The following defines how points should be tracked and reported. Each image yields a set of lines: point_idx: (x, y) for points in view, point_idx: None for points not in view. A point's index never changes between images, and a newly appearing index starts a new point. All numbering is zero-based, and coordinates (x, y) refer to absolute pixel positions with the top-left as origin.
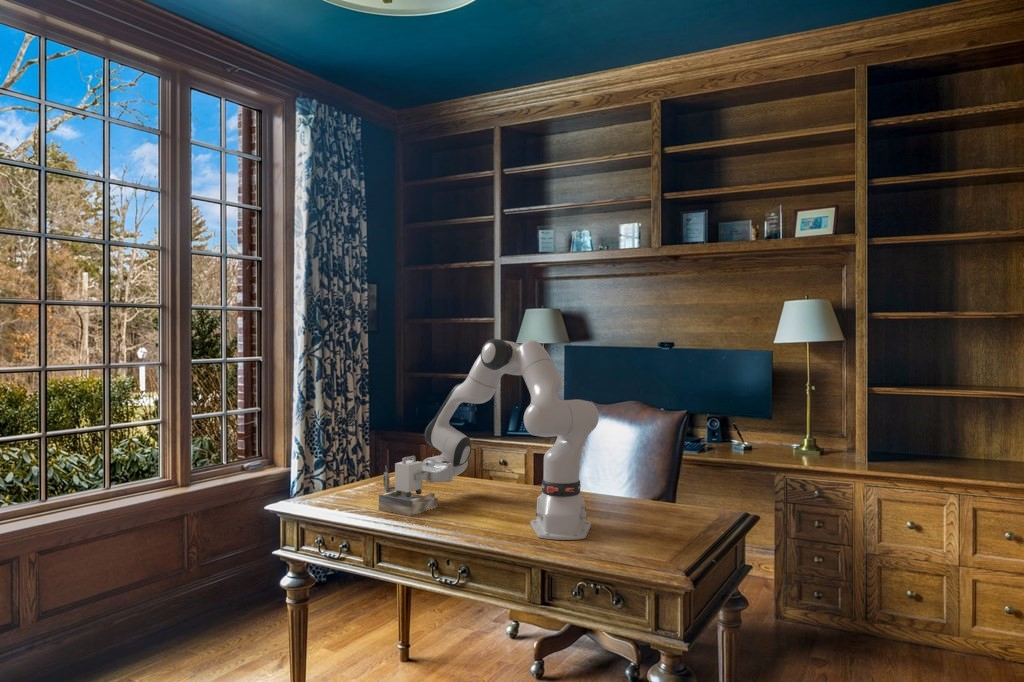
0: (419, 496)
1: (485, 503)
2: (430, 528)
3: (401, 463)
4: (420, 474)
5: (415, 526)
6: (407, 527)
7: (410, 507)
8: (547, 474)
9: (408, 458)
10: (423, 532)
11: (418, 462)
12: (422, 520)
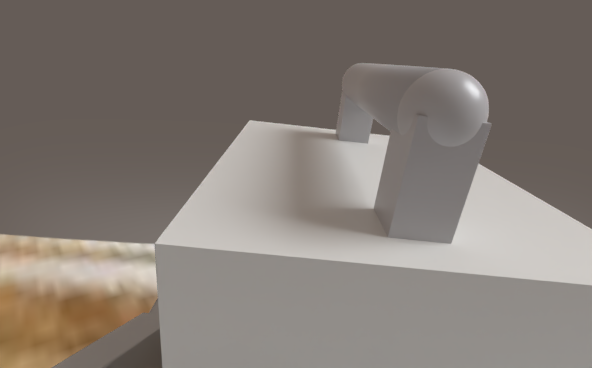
0: None
1: None
2: (24, 273)
3: (387, 142)
4: (149, 315)
5: (99, 271)
6: (129, 257)
7: None
8: None
9: (353, 82)
10: (52, 241)
11: (234, 195)
12: (82, 339)
